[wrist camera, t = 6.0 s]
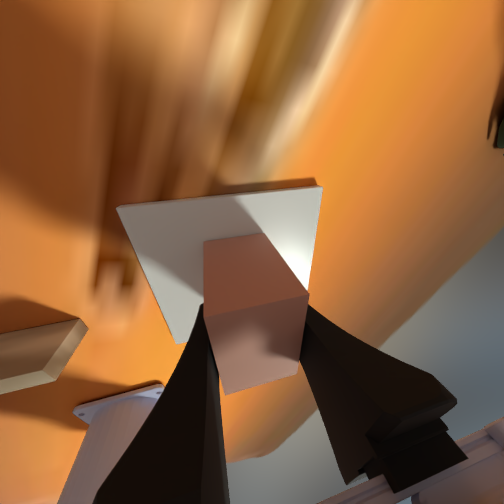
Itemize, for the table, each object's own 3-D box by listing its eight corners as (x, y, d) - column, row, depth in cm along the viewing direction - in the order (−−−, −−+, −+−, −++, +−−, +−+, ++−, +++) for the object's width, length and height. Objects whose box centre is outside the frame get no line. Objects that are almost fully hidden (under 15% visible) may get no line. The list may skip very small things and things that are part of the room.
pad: (300, 309, 18) (303, 313, 18) (177, 338, 16) (176, 344, 15) (318, 185, 12) (323, 186, 11) (120, 205, 10) (115, 208, 9)
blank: (265, 297, 15) (296, 373, 10) (217, 308, 14) (225, 395, 9) (264, 232, 12) (309, 294, 7) (203, 241, 11) (203, 317, 6)
